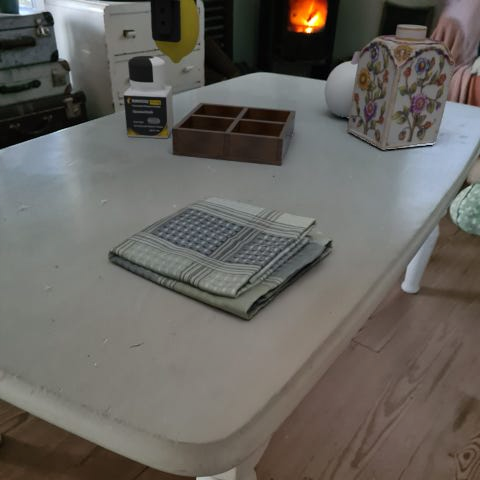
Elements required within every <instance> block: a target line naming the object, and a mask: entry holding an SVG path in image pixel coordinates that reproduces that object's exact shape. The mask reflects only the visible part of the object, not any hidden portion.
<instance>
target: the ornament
mask: <svg viewBox="0 0 480 480" xmlns="http://www.w3.org/2000/svg"><path fill="white" fill-rule="evenodd" d="M360 52H361V51H354V52H353V53H354V54H353V56H352V59H351V60H350V61H349V60H348V61H346V62H342V63H340V64H339V65H337V66H336V67H334V68H333V69H332V70H331V72H330V73H329V75H328V77H327V79H326V82H325V86H324V100H325V103H326V105H327V108H328V109H329V110H330V111H331V113H333V114H334V115H336V116H338V115H339V116H338V117H340V116H343V117H349V116H350V109H351V102H352V95H353V89H354V84H355V77H356V71H357V66H358V61H359V54H360ZM343 117H342V118H343Z"/></svg>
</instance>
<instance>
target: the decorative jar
mask: <svg viewBox="0 0 480 480" xmlns="http://www.w3.org/2000/svg"><path fill="white" fill-rule="evenodd" d="M427 31H428V27H427V26H426V25H425V26H424V25H417V24H397V26H396V31H395V34H389V35H380V36H377V37H374V38H373V39H372V40H371V41H369V43H368V44H366V45H365V46H364V47H363V48H362V50H361V51H359V52H360V54H359V61H358V66H357V71H356V77H355V84H354V89H353V95H352V102H351V109H350V116H349V118H348V125H347V132H348V131H350V132H351V133H353V134H355V135H357V136H359V137H361V138H363V139H365V140H366V141H368V142H370V143H372V144H374V145H376V146H377V147H379V148H381V149H387V148H398V147H403V146H410V145H417V144H426V143H434V142H435V143H436V142H437V139H438V136H439V132H440V128H441V124H442V120H443V117H444V112H445V109H446V108H445V107H446V104H447V100H448V96H449V93H450V88H451V84H452V79H453V75H454V71H455V66H456V61H455V59H454V56H453V55H452V52H451V51H450V48H449V47H448V45H447V43H446V42H444V41H442V40H438V39H435V38H432V37H431V38H430V37H427Z"/></svg>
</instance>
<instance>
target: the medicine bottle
mask: <svg viewBox="0 0 480 480" xmlns="http://www.w3.org/2000/svg"><path fill="white" fill-rule="evenodd" d="M127 64H128V65H127V66H128V77H129V79H128V80H129V84H130V86H129V87H128V88H127V89H126V90H125V91H124V93H123V103H124V104H123V105H124V114H125V125H126V136H127V137H130V138H151V139H168V138H169V136H170V135H171V134H172V128H173V127H174V126H175V125H174V101H173V87H172V85H167V74H166V72H167V71H166V62H165V60H164V59H163V58H160V57H159V56H154V55H137V56H133V57H132V58H130V59H129V60H128V61H127Z"/></svg>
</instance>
